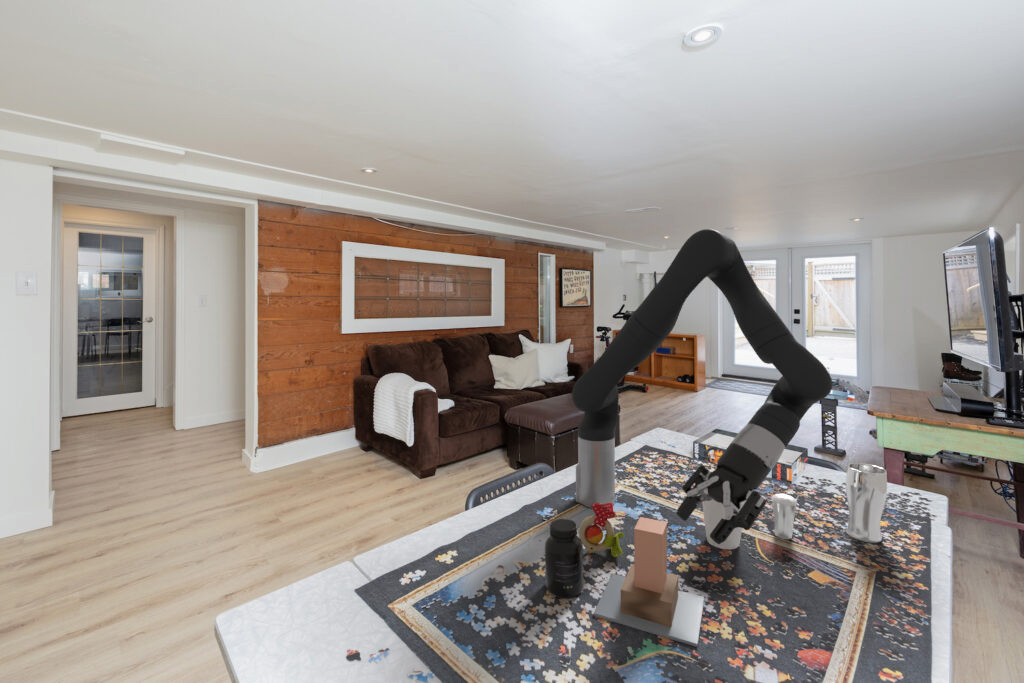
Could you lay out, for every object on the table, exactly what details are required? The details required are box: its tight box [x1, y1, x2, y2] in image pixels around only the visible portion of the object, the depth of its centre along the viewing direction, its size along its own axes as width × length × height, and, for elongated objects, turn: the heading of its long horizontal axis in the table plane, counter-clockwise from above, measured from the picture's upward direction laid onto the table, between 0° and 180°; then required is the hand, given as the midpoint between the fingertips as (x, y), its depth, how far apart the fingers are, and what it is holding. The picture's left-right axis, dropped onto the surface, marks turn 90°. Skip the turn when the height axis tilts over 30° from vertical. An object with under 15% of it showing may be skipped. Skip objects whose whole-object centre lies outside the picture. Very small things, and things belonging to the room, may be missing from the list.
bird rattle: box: [578, 503, 625, 558], centre depth 94 cm, size 6×11×9 cm
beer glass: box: [845, 462, 888, 544], centre depth 98 cm, size 7×7×15 cm
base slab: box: [621, 563, 679, 627], centre depth 77 cm, size 8×8×4 cm
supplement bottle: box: [544, 518, 584, 599], centre depth 83 cm, size 7×7×12 cm
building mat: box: [593, 573, 705, 648], centre depth 77 cm, size 16×12×1 cm
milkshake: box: [771, 491, 801, 540], centre depth 99 cm, size 4×5×10 cm
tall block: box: [633, 516, 668, 594], centre depth 77 cm, size 4×4×10 cm
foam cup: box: [701, 489, 746, 550], centre depth 97 cm, size 10×9×13 cm
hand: (696, 528), depth 79 cm, fingers open, 8 cm apart
